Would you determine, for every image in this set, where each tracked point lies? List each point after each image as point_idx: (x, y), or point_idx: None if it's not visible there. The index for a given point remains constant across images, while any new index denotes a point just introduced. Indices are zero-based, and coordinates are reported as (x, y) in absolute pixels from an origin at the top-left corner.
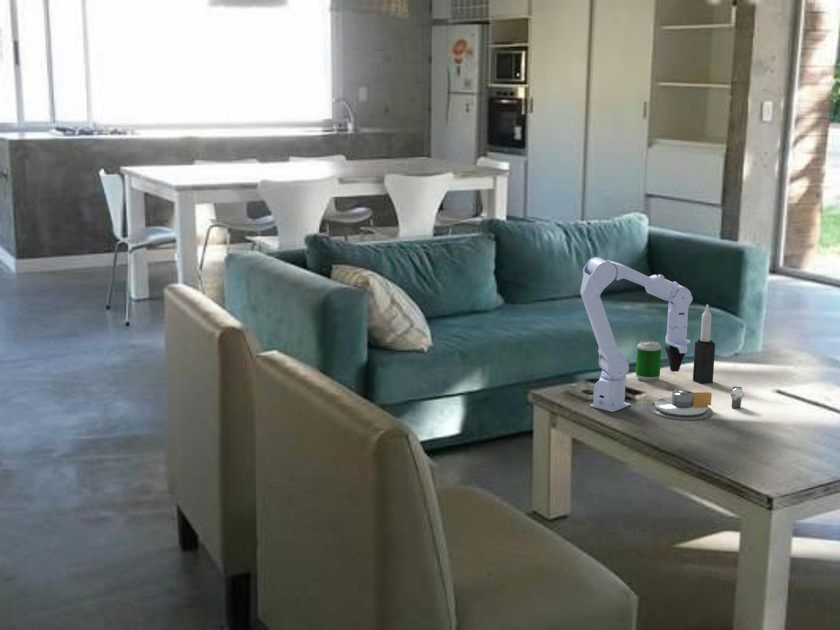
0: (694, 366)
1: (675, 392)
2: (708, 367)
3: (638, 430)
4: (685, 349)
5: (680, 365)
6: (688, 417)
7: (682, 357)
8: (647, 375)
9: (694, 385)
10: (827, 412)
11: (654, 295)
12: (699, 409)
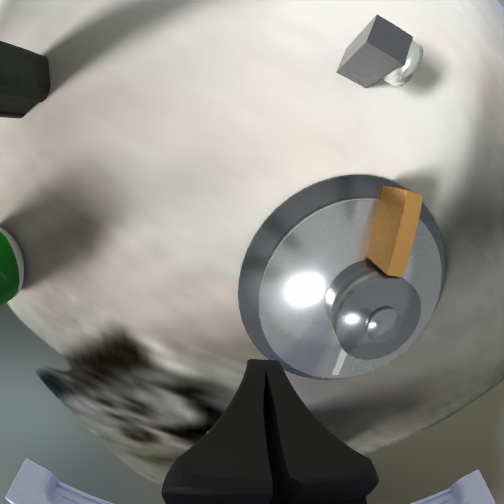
0: None
1: (361, 347)
2: (11, 62)
3: (429, 411)
4: (480, 496)
5: (289, 383)
6: None
7: (326, 435)
8: (16, 282)
9: (55, 121)
10: None
11: None
12: (426, 258)
